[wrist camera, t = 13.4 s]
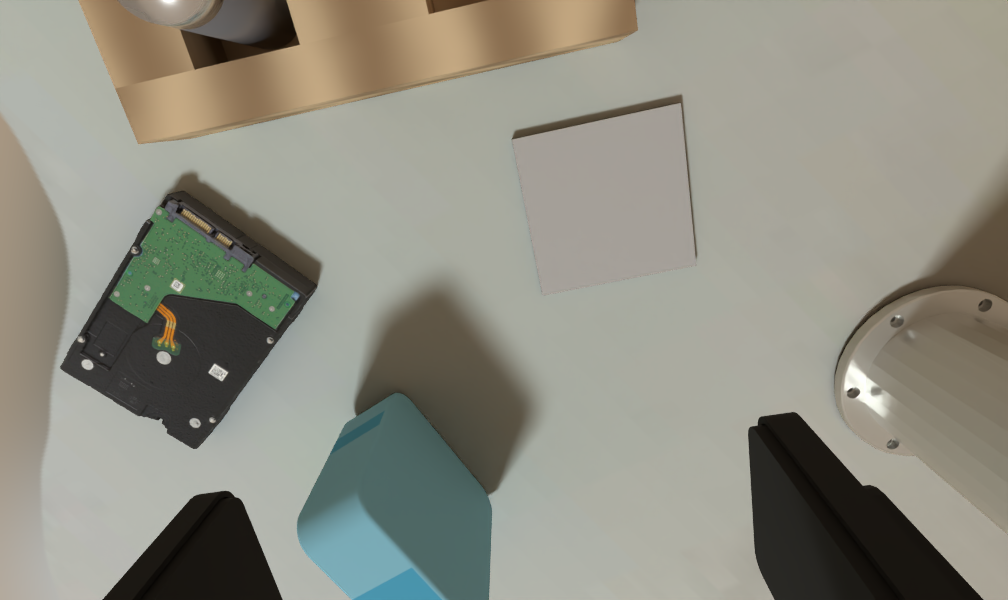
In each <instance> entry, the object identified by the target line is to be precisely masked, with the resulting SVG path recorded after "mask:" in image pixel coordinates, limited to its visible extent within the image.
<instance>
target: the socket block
mask: <svg viewBox="0 0 1008 600" xmlns="http://www.w3.org/2000/svg"><path fill="white" fill-rule="evenodd" d="M79 3H80V5H81V8H82V10H83V12H84V15H85V17H86V20H87V22H88V24H89V27H90V29H91V32H92V34H93V36H94V39H95V41H96V44H97V46H98V48H99V51H100V53H101V56H102V58H103V60H104V63H105V65H106V68H107V70H108V72H109V75H110V77H111V80H112V82H113V84H114V87H115V89H116V92H117V94H118V96H119V99H120V101H121V104H122V106H123V108H124V111H125V113H126V116H127V118H128V120H129V123H130V125H131V128H132V130H133V132H134V135H135V137H136V140H137V142H138V144H144V143H154V142H163V141H173V140H182V139H191V138H196V137H200V136H205V135H209V134H213V133H218V132H222V131H227V130H231V129H235V128H240V127H244V126H249V125H253V124H257V123H262V122H266V121H271V120H275V119H279V118H284V117H288V116H293V115H297V114H301V113H306V112H310V111H315V110H319V109H323V108H328V107H332V106H337V105H341V104H345V103H350V102H354V101H359V100H363V99H367V98H372V97H376V96H381V95H385V94H389V93H394V92H398V91H403V90H407V89H411V88H416V87H420V86H425V85H429V84H433V83H438V82H442V81H447V80H451V79H456V78H460V77H464V76H469V75H473V74H478V73H482V72H486V71H491V70H495V69H500V68H504V67H508V66H513V65H517V64H522V63H526V62H530V61H535V60H539V59H544V58H548V57H552V56H557V55H561V54H566V53H570V52H574V51H579V50H583V49H588V48H592V47H596V46H601V45H605V44H610V43H614V42H618V41H620V40H622V39H623V38H625V37H627V36H629V35H630V34H632V33H634V32H636V31H637V30H638V27H637V18H636V9H635V0H287V4H288V7H289V10H290V13H291V17H292V20H293V23H294V27H295V30H296V33H297V34H296V36H295V37H294V38H293V40H292V41H291V42H290V43H288V44H287V45H285V46H283V47H281V48H278V49H270V50H268V49H262V48H257V47H253V46H249V45H244V44H240V43H236V42H232V41H227V40H223V39H219V38H214V37H210V36H206V35H202V34H197V33H193V32H189V31H184V30H180V29H176V28H172V27H167V26H163V25H159V24H155V23H151V22H147V21H145V20H142V19H140V18H138V17H136V16H135V15H133V14H132V13H130V12H129V11H128V10H126V9H125V8H124V7H123V6H122V5H121V4H120V3H119V2H118V1H117V0H79Z"/></svg>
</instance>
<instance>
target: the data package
mask: <svg viewBox="0 0 1008 600" xmlns="http://www.w3.org/2000/svg"><path fill="white" fill-rule="evenodd" d="M491 526H492V508H491V504H490V501H489V498H488V496H487V494H486V492H485V490H484V489H483V487H482V486H481V485H480V483H479V482H478V481H477V480H476V479H475V477H474V476H473V475H472V474H471V473H470V471H469V470H468V469H467V468H466V467H465V465H464V464H463V463H462V462H461V461H460V459H459V458H458V457H457V456H456V455H455V453H454V452H453V451H452V450H451V448H450V447H449V446H448V445H447V444H446V442H445V441H444V440H443V439H442V438H441V436H440V435H439V434H438V433H437V432H436V430H435V429H434V428H433V427H432V426H431V424H430V423H429V422H428V421H427V419H426V418H425V417H424V416H423V415H422V413H421V412H420V411H419V410H418V409H417V407H416V406H415V405H414V404H413V403H412V401H411V400H410V399H409V398H408V397H406V396H405V395H403V394H401V393H394V394H392V395H390V396H389V397H387V398H386V399H384V400H382V401H381V402H379V403H378V404H376V405H374V406H373V407H371V408H370V409H368V410H366V411H365V412H363V413H362V414H360V415H358V416H357V417H355V418H354V419H352V420H350V421H349V422H347V423H346V424H345V426H344V428H343V429H342V431H341V433H340V435H339V437H338V439H337V441H336V443H335V445H334V447H333V449H332V451H331V453H330V455H329V457H328V459H327V461H326V463H325V465H324V467H323V469H322V471H321V473H320V475H319V477H318V479H317V481H316V483H315V485H314V487H313V489H312V491H311V493H310V495H309V497H308V499H307V501H306V503H305V505H304V507H303V509H302V511H301V513H300V515H299V517H298V521H297V534H298V539H299V542H300V545H301V547H302V549H303V550H304V552H305V553H306V554H307V556H308V557H309V558H310V559H311V560H312V561H313V562H314V563H315V564H316V565H317V566H318V567H319V568H320V569H321V570H322V571H323V572H324V573H325V574H326V575H327V576H328V577H329V578H330V579H331V580H332V581H333V582H334V583H335V584H336V585H337V586H338V587H339V588H340V589H341V590H342V591H343V592H344V593H345V594H346V595H347V596H349V597H350V598H351V599H352V600H489V583H490V555H491Z"/></svg>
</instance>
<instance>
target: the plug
mask: <svg viewBox="0 0 1008 600" xmlns="http://www.w3.org/2000/svg"><path fill="white" fill-rule="evenodd" d="M117 1H118V2H119V3H120V4H121V5H122V6H123V7H124V8H125V9H126V10H128V11H129V12H130V13H132V14H133V15H135V16H136V17H138V18H140V19H142V20H145V21H147V22H151V23H155V24H159V25H163V26H167V27H172V28H176V29H180V30H184V31H189V32H193V33H197V34H202V35H206V36H210V37H214V38H219V39H223V40H227V41H232V42H236V43H240V44H244V45H249V46H253V47H257V48H262V49H268V50H270V49H278V48H281V47H283V46H285V45H287V44H288V43H290V42H291V41H292V40H293V38H294V37H295V36H296V34H297V33H296V30H295V27H294V23H293V20H292V17H291V13H290V10H289V7H288V4H287V0H117Z"/></svg>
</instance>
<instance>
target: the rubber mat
mask: <svg viewBox="0 0 1008 600" xmlns="http://www.w3.org/2000/svg"><path fill="white" fill-rule="evenodd" d="M512 143H513V148H514V153H515V158H516V163H517V168H518V173H519V178H520V183H521V188H522V193H523V199H524V204H525V209H526V214H527V219H528V224H529V229H530V234H531V239H532V244H533V249H534V255H535V260H536V265H537V270H538V275H539V280H540V285H541V290H542V295H549V294H554V293H559V292H564V291H569V290H574V289H579V288H584V287H590V286H595V285H600V284H605V283H610V282H615V281H620V280H625V279H630V278H636V277H641V276H646V275H651V274H656V273H661V272H666V271H671V270H677V269H682V268H687V267H692V266H696V256H695V246H694V235H693V225H692V214H691V204H690V193H689V183H688V172H687V162H686V151H685V141H684V130H683V120H682V109H681V103H676V104H671V105H667V106H662V107H657V108H653V109H648V110H644V111H639V112H634V113H630V114H625V115H621V116H616V117H611V118H607V119H602V120H598V121H593V122H588V123H584V124H579V125H575V126H570V127H565V128H561V129H556V130H552V131H547V132H542V133H538V134H533V135H529V136H524V137H519V138H515V139H512Z"/></svg>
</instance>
